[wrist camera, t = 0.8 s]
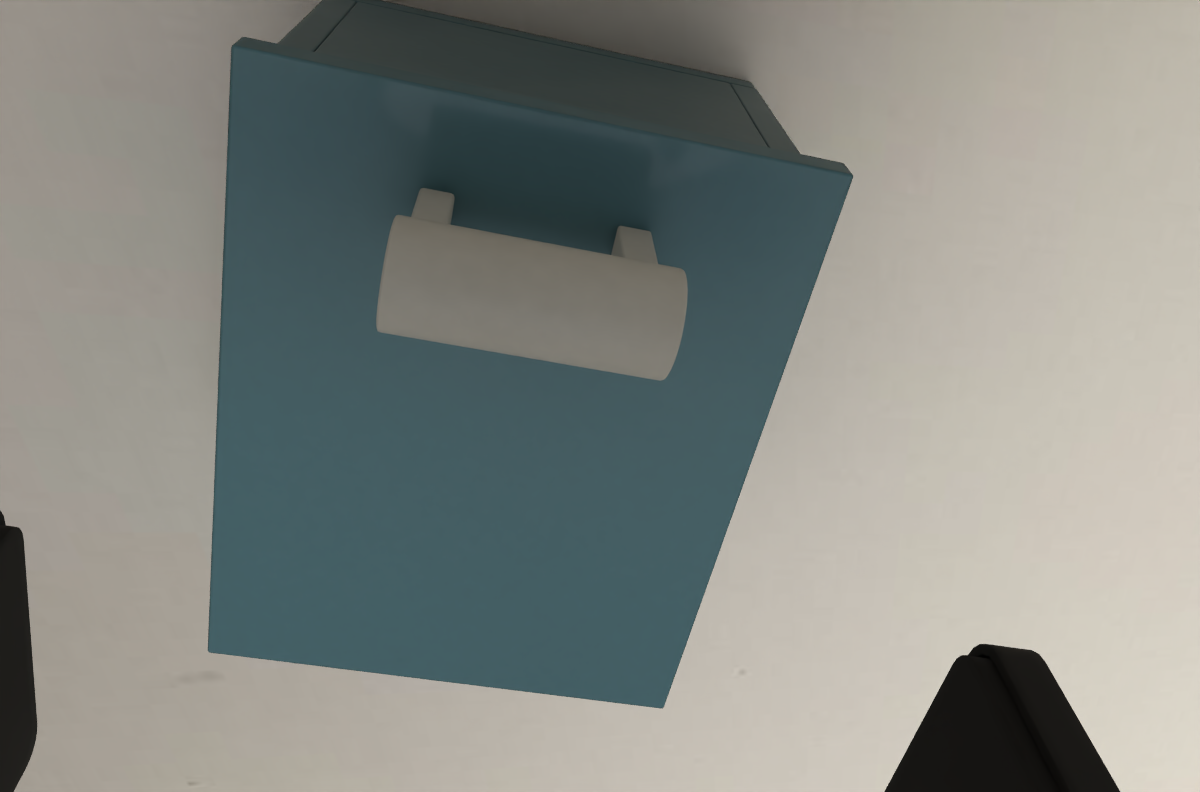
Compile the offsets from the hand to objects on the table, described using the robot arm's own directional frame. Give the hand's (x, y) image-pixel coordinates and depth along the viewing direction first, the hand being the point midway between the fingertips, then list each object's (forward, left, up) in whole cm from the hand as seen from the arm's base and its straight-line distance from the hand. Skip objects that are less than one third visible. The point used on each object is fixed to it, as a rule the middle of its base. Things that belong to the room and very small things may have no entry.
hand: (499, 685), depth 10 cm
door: (+5, 0, -13) cm, 14 cm away
